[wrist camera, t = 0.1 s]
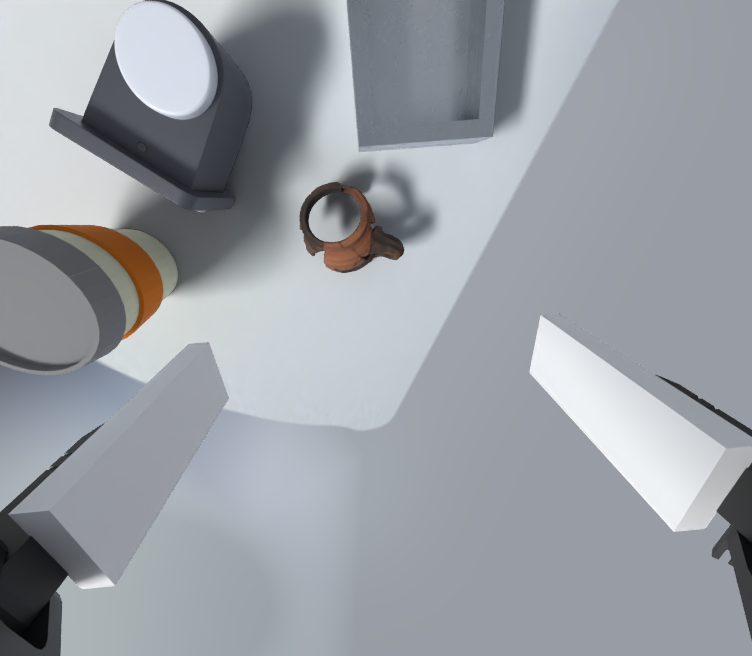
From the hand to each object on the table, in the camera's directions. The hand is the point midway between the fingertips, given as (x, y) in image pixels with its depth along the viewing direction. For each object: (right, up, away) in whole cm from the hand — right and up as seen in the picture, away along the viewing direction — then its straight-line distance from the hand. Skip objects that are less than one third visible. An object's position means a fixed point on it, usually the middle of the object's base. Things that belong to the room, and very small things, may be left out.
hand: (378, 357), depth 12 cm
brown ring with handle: (-3, +13, +25) cm, 28 cm away
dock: (+4, +30, +17) cm, 35 cm away
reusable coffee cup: (-30, +9, +25) cm, 40 cm away
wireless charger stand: (-18, +23, +19) cm, 35 cm away
